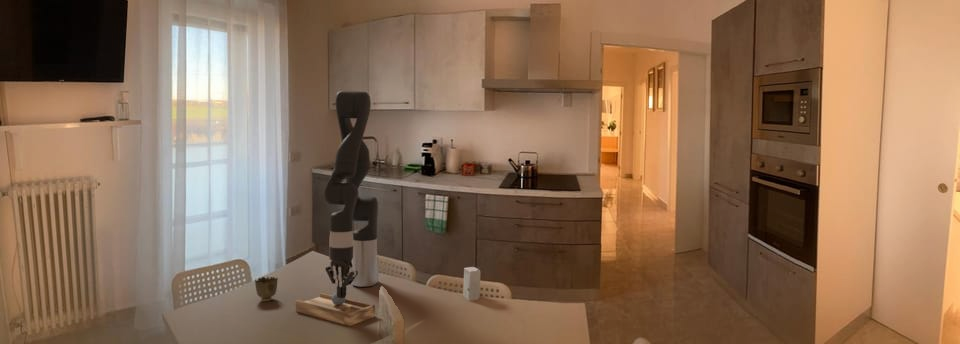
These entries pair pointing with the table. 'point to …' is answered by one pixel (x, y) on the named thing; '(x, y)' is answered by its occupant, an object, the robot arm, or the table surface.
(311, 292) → the table surface
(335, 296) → the ball
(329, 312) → the tray
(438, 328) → the table surface
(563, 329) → the table surface
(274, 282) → the cup
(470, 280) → the skincare box
